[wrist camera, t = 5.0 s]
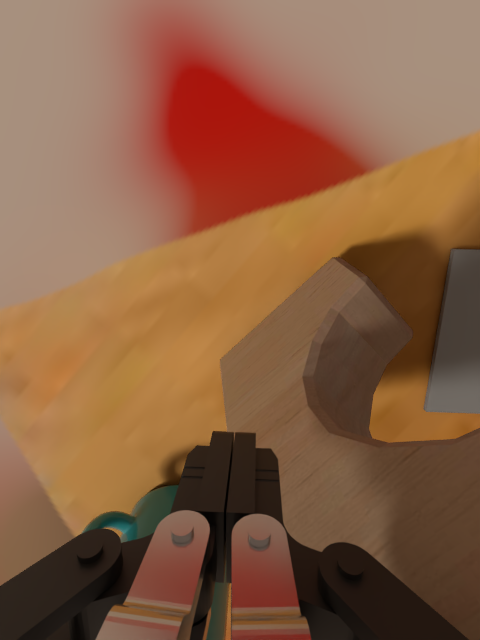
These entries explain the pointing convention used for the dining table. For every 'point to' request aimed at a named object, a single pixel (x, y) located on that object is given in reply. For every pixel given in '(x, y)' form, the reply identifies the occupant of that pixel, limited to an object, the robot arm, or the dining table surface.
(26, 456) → the dining table surface
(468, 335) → the mat
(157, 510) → the cup
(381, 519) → the decorative block
